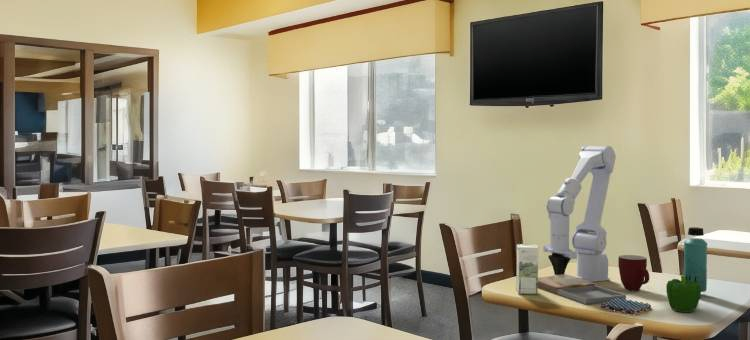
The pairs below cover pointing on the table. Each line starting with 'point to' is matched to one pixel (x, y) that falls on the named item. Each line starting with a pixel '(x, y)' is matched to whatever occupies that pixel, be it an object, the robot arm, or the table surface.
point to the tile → (567, 279)
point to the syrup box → (527, 269)
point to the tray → (590, 294)
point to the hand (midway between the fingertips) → (559, 277)
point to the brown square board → (551, 286)
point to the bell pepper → (683, 294)
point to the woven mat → (625, 306)
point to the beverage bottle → (695, 258)
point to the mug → (633, 271)
